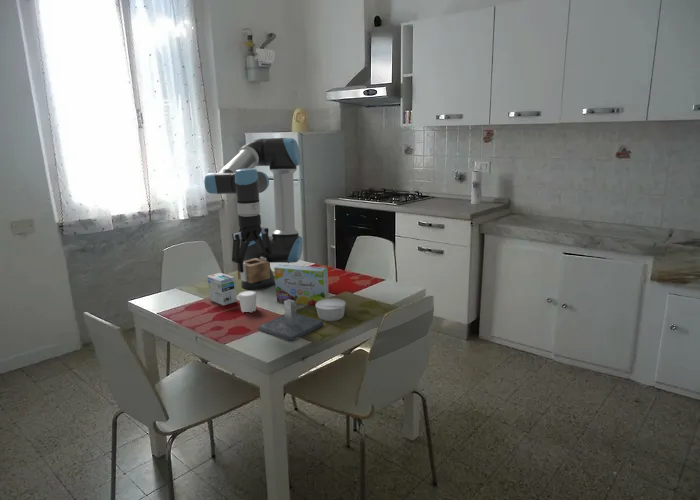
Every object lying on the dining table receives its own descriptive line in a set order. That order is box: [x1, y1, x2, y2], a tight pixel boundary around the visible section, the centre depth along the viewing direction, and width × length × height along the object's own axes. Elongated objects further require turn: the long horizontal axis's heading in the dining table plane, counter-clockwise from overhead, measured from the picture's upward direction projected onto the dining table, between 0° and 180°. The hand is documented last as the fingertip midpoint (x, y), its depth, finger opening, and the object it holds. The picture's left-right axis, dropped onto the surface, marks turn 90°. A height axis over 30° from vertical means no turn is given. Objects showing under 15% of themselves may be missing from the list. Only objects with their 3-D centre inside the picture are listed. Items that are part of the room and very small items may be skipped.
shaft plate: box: [258, 299, 324, 342], centre depth 168 cm, size 16×16×10 cm
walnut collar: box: [236, 258, 271, 283], centre depth 169 cm, size 8×8×6 cm
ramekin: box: [315, 297, 346, 322], centre depth 178 cm, size 11×11×5 cm
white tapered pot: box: [237, 290, 257, 313], centre depth 186 cm, size 7×7×7 cm
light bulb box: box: [206, 272, 237, 307], centre depth 196 cm, size 11×7×11 cm, turn 47°
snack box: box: [273, 263, 330, 307], centre depth 192 cm, size 21×6×15 cm, turn 72°
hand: (254, 277), depth 170 cm, fingers closed on walnut collar, 8 cm apart
